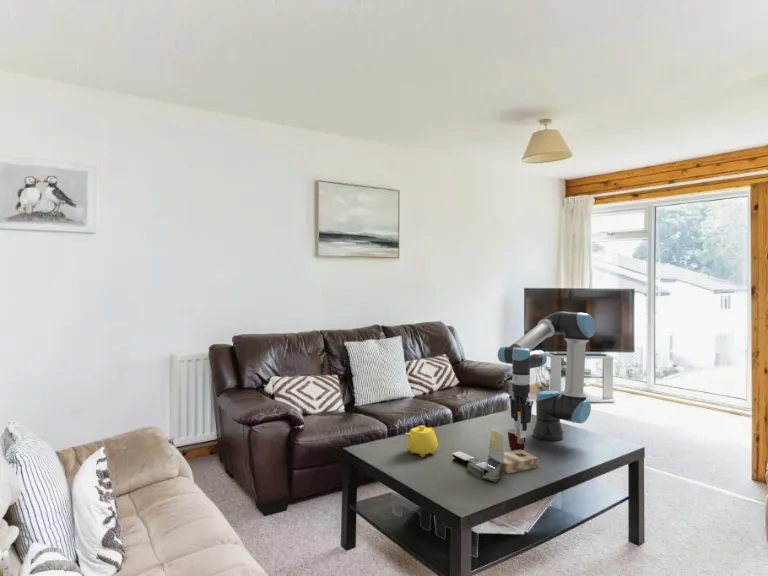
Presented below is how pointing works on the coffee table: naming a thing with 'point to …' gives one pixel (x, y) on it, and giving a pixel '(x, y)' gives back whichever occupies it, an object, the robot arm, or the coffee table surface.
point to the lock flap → (497, 446)
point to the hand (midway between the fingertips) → (520, 436)
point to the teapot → (422, 440)
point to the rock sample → (494, 474)
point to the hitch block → (509, 463)
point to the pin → (519, 440)
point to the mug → (514, 441)
